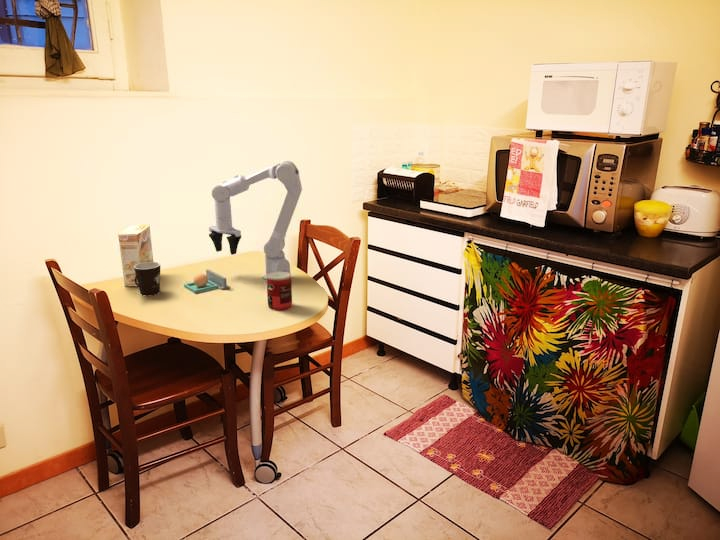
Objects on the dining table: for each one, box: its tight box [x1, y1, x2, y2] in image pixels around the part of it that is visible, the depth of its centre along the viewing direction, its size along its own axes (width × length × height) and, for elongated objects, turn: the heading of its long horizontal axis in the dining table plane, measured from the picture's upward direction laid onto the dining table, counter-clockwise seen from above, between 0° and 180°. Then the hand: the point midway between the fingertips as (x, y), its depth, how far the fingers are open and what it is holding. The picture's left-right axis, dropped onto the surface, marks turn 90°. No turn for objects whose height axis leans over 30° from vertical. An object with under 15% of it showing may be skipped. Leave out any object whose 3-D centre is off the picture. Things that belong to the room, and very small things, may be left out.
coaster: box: [183, 280, 220, 294], centre depth 195 cm, size 9×9×1 cm
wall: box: [205, 269, 230, 291], centre depth 199 cm, size 14×3×4 cm, turn 41°
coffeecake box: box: [117, 224, 154, 285], centre depth 201 cm, size 15×7×20 cm, turn 4°
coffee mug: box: [134, 261, 161, 297], centre depth 187 cm, size 12×9×10 cm
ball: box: [193, 272, 208, 287], centre depth 195 cm, size 5×5×5 cm
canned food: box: [266, 271, 293, 311], centre depth 177 cm, size 8×8×11 cm
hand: (226, 252), depth 204 cm, fingers open, 7 cm apart
